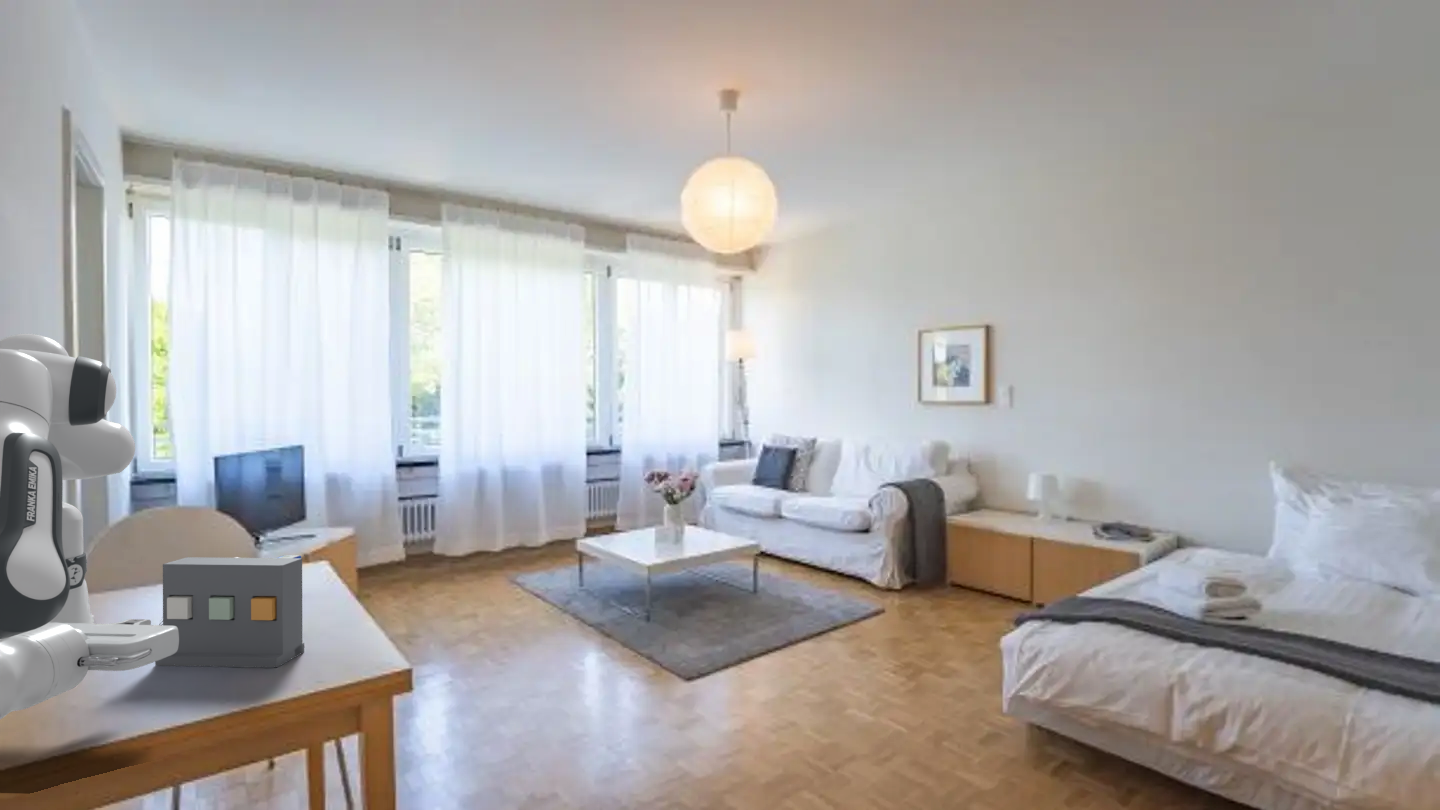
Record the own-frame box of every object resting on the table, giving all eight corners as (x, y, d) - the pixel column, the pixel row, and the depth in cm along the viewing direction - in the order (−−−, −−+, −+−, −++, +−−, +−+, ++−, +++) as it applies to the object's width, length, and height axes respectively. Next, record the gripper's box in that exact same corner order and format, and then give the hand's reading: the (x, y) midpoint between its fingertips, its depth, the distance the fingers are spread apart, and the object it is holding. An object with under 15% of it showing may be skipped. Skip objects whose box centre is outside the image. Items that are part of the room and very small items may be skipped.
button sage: (208, 619, 112) (208, 598, 112) (222, 613, 115) (222, 593, 115) (229, 619, 112) (229, 598, 112) (242, 614, 115) (242, 593, 115)
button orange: (251, 620, 112) (251, 599, 112) (264, 614, 115) (263, 593, 115) (271, 620, 112) (271, 599, 112) (284, 614, 115) (284, 594, 115)
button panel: (155, 665, 112) (154, 566, 112) (190, 650, 119) (189, 556, 119) (276, 667, 111) (276, 567, 111) (304, 651, 118) (304, 557, 118)
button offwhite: (167, 618, 113) (166, 597, 113) (182, 613, 116) (181, 592, 116) (187, 619, 113) (187, 598, 113) (201, 613, 116) (201, 593, 116)
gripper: (125, 638, 85) (212, 604, 99) (-36, 634, 86) (72, 600, 99) (125, 690, 85) (212, 648, 99) (-36, 685, 86) (73, 644, 100)
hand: (141, 624), depth 99 cm, fingers closed
